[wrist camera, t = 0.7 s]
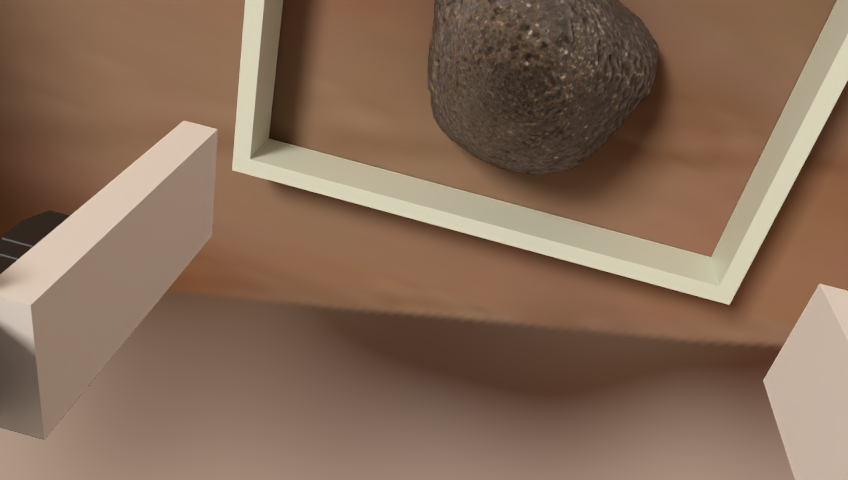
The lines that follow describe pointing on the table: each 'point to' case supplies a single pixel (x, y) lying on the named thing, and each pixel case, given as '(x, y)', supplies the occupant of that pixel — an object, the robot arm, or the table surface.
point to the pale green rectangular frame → (530, 229)
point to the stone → (536, 77)
